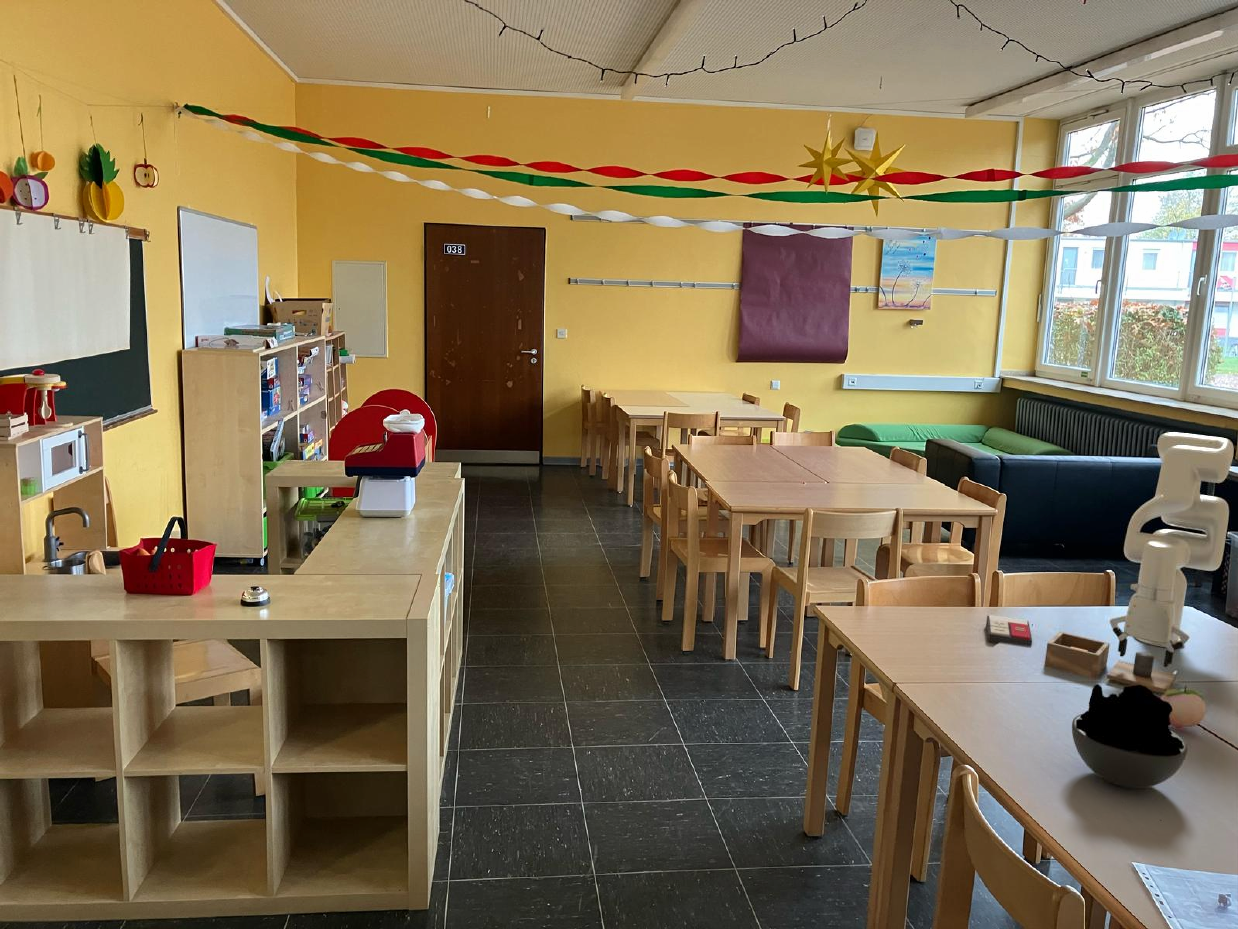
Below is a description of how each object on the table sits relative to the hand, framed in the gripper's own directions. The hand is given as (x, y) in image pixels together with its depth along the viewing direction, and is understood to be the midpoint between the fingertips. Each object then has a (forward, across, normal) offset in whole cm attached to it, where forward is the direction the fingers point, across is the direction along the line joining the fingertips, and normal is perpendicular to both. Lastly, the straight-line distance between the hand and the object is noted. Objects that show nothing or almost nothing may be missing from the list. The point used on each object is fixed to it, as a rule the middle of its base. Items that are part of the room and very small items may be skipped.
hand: (1144, 660), depth 243 cm
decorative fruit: (+7, +12, -22) cm, 26 cm away
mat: (+7, 0, 0) cm, 7 cm away
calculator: (+7, -35, +12) cm, 38 cm away
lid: (+6, 0, 0) cm, 6 cm away
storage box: (+7, -15, 0) cm, 16 cm away
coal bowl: (+7, +7, -58) cm, 59 cm away
